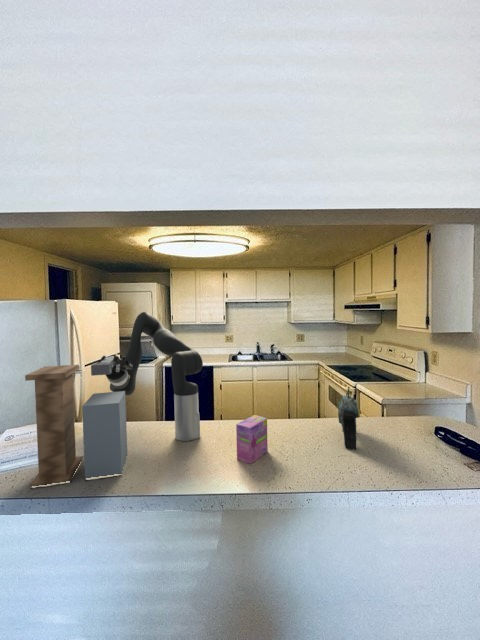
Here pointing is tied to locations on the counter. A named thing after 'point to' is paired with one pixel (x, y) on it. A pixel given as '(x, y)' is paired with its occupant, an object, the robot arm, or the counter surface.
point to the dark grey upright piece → (348, 419)
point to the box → (251, 438)
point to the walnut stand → (55, 424)
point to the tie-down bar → (103, 366)
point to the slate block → (104, 434)
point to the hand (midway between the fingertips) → (109, 358)
